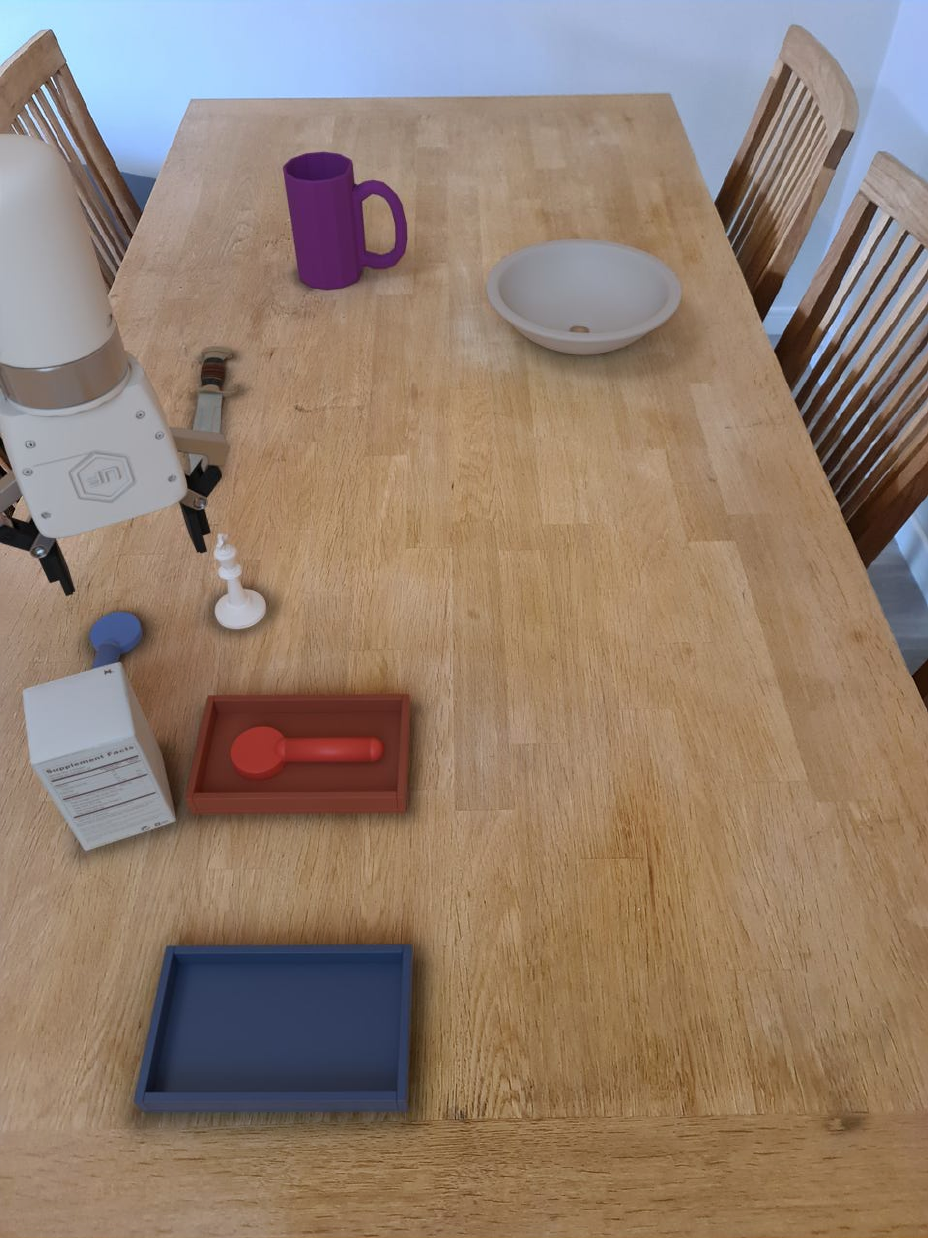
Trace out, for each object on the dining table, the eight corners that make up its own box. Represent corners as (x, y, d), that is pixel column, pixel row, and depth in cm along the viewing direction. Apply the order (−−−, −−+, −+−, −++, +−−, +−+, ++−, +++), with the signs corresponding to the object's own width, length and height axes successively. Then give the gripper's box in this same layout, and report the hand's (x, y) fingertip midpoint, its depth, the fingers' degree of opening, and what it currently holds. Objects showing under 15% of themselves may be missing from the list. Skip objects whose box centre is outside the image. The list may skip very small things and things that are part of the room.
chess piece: (206, 626, 91) (182, 550, 84) (227, 589, 95) (205, 512, 87) (255, 635, 91) (235, 559, 83) (275, 598, 94) (257, 521, 86)
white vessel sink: (462, 369, 119) (461, 321, 114) (513, 273, 134) (514, 227, 130) (656, 401, 114) (664, 352, 109) (687, 298, 129) (695, 251, 125)
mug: (303, 258, 138) (288, 150, 127) (412, 259, 137) (406, 151, 126) (293, 292, 132) (276, 181, 121) (407, 293, 131) (400, 182, 120)
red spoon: (386, 733, 82) (384, 719, 81) (383, 780, 79) (381, 766, 77) (237, 734, 82) (233, 720, 81) (228, 781, 79) (224, 767, 78)
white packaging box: (73, 780, 80) (19, 685, 71) (163, 753, 82) (122, 657, 72) (83, 855, 76) (26, 765, 66) (178, 825, 77) (137, 733, 68)
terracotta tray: (191, 816, 78) (184, 799, 76) (213, 713, 85) (207, 695, 83) (406, 814, 78) (404, 797, 76) (410, 711, 84) (409, 693, 83)
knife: (221, 492, 103) (172, 489, 103) (222, 503, 104) (174, 500, 104) (243, 346, 121) (202, 343, 120) (244, 357, 122) (203, 354, 121)
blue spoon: (116, 729, 84) (110, 715, 82) (63, 729, 84) (55, 715, 82) (148, 620, 92) (143, 605, 91) (100, 620, 92) (93, 606, 91)
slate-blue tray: (143, 1114, 63) (133, 1102, 61) (175, 960, 70) (166, 945, 68) (408, 1113, 63) (406, 1101, 61) (413, 959, 70) (411, 943, 68)
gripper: (-85, 433, 54) (21, 635, 67) (217, 355, 59) (262, 557, 72) (-97, 365, 59) (4, 566, 71) (184, 298, 64) (232, 497, 76)
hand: (133, 561), depth 72 cm, fingers open, 9 cm apart
